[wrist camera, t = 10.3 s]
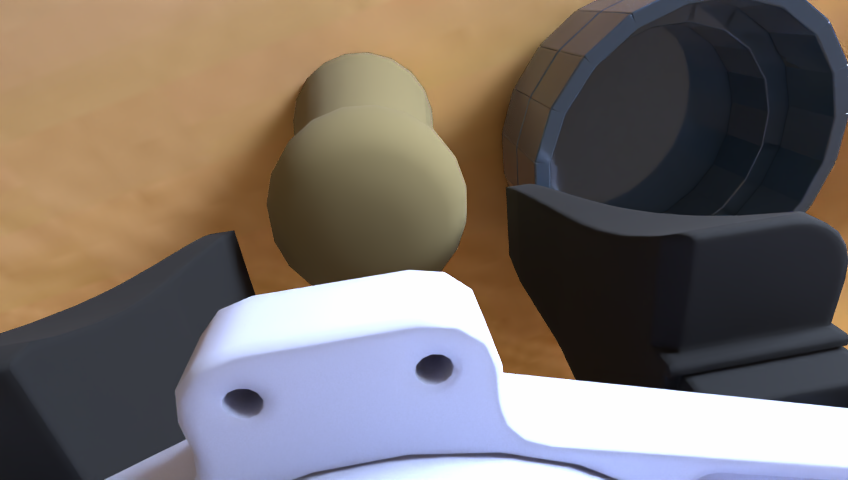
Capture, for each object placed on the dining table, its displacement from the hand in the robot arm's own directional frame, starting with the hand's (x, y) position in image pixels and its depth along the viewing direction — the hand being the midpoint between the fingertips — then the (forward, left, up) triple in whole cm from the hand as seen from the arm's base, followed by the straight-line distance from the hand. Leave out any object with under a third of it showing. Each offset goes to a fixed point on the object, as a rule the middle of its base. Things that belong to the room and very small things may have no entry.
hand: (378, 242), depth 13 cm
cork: (+1, 0, -10) cm, 10 cm away
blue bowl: (-1, -12, -10) cm, 15 cm away
